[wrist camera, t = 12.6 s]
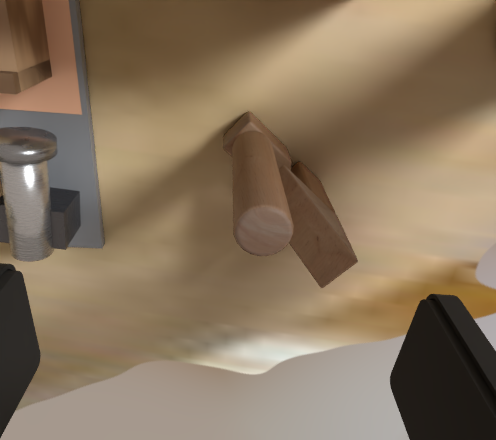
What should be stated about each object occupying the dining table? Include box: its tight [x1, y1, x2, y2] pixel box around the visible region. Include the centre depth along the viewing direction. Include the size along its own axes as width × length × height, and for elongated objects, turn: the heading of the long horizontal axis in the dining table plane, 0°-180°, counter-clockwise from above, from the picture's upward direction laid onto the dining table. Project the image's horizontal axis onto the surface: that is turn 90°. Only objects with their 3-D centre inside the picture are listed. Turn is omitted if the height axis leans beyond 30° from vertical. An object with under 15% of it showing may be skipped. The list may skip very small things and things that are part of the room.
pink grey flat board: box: [0, 0, 105, 248], centre depth 33 cm, size 9×44×1 cm, turn 175°
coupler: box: [0, 0, 52, 94], centre depth 30 cm, size 9×4×7 cm, turn 174°
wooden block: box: [223, 112, 358, 288], centre depth 33 cm, size 4×11×18 cm, turn 45°
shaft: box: [0, 127, 81, 261], centre depth 37 cm, size 11×6×8 cm, turn 170°
